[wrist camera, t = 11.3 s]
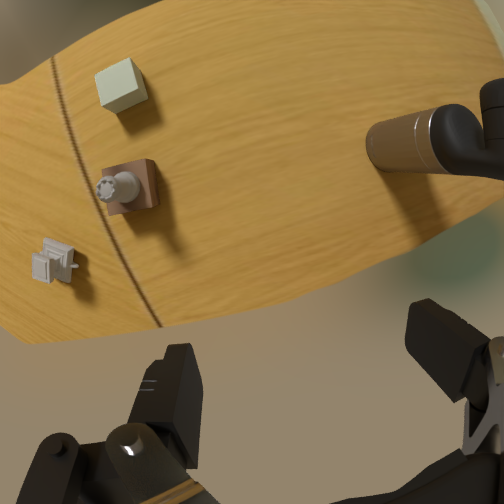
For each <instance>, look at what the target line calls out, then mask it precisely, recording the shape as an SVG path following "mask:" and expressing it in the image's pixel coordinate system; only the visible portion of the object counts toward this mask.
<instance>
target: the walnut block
mask: <svg viewBox="0 0 504 504" xmlns="http://www.w3.org/2000/svg"><path fill="white" fill-rule="evenodd" d="M124 171H125V172H131V173H133V174H135V175H136V176H137V178H138V179H139V182H140V191H139V193H138V196H137V197H136V198H135V199H134V200H133V201H130V202H128V203H121V202H118V201H116V200H114V201H112V202H110V203H107V208H108V214H109V216H111V215H116V214H121V213H126V212H130V211H135V210H140V209H145V208H151V207H154V206H156V205H159V204H160V200H159V194H158V187H157V180H156V173H155V166H154V161H153V160H149V159H141V160H137V161H132V162H128V163H124V164H120V165H116V166H112V167H109V168H105V169H102V176H103V177H105V176H113V177H114V176H115V175H116V174H118V173H121V172H124Z"/></svg>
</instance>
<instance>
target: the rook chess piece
mask: <svg viewBox="0 0 504 504" xmlns="http://www.w3.org/2000/svg"><path fill="white" fill-rule="evenodd" d="M139 191H140V182H139V179H138V178H137V176H136V175H135V174H133V173H131V172H125V171H124V172H121V173H118V174H116V175H115V176H114V177H113V176H105V177H102V178H101V179H100V180H99V182H98V183H97V186H96V195H97V196H98V197H99V199H100V200H101V201H103V202H105V203H110V202H112V201H114V200H116V201H118V202H121V203H128V202H130V201H133V200H134V199H135V198H136V197H137V196H138V193H139Z"/></svg>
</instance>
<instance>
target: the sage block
mask: <svg viewBox="0 0 504 504" xmlns="http://www.w3.org/2000/svg"><path fill="white" fill-rule="evenodd" d="M95 80H96V85H97V89H98V93H99V98H100V102H101V106H102V107H104V108H106V109H107V110H109V111H111V112H113V113H115V114H117V113H119V112H121V111H123V110H125V109H127V108H129V107H132V106H134V105H136V104H138V103H140V102H143V101H145V100H147V99H148V95H147V92H146V88H145V85H144V82H143V78H142V75H141V71H140V69H139V68H138V67H137V66H136V64H135V63H134V62H133V61H132V59H131V58H130V57H129V58H127V59H125V60H123V61H120V62H118V63H116V64H114V65H112V66H110V67H108V68H106V69H105V70H103V71H101V72H99V73H97V74H95Z"/></svg>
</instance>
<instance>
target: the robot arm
mask: <svg viewBox="0 0 504 504" xmlns="http://www.w3.org/2000/svg"><path fill="white" fill-rule="evenodd" d="M480 107H481V114H482V122H483V129H482V127H481V125H480V123H479V121H478V120H477V118H476V117H475V115H474V114H473V113H472V112H471V111H470V110H469V109H467V108H466V107H464V106H462V105H459V104H449V105H444V106H440V107H436V108H431V109H428V110H424V111H420V112H416V113H412V114H408V115H404V116H401V117H397V118H393V119H389V120H386V121H382V122H379V123H377V124H375V125H373V126H372V127H371V128H370V130H369V131H368V134H367V137H366V149H367V153H368V155H369V158H370V159H371V161H372V163H373V164H374V165H375V166H376V167H378V168H379V169H380V170H383V171H386V172H403V173H429V174H448V175H463V176H479V177H487V178H492V179H498V180H502V181H504V78H500V79H496V80H492V81H490V82H488V83H486V84H485V85H483V87H482V88H481V90H480ZM405 346H406V349H407V351H408V352H409V354H410V355H411V356H412V357H413V358H414V359H415V360H416V361H417V362H418V363H419V365H420V366H421V367H422V368H423V369H424V370H425V371H426V372H427V373H428V374H429V375H430V377H431V378H432V379H433V380H434V381H435V382H436V383H437V384H438V386H439V387H440V388H441V389H442V390H443V391H444V392H445V393H446V395H447V396H448V397H449V398H450V399H451V400H452V401H453V403H455V402H457V401H458V400H460V399H462V398H464V397H466V398H467V401H466V403H465V412H464V414H465V415H464V436H463V446H462V450H460V449H457V450H455V451H454V452H452V453H450V454H449V455H447V456H445V457H444V458H442V459H440V460H438V461H436V462H435V463H433V464H431V465H429V466H428V467H427V468H425V469H424V470H423V471H422V472H421V473H419V474H418V475H417V476H416V477H415V478H413V479H412V480H411V481H409V482H408V483H406V484H405V485H404V486H403V487H401V488H400V489H398V490H396V491H394V492H390V493H385V494H379V495H373V496H366V497H358V498H349V499H345V500H342V501H339V502H334V503H331V504H504V337H503V336H501V337H495V338H493V339H492V340H491V339H489V338H488V337H487V336H485V335H484V334H483V333H481V332H480V331H478V330H477V329H476V328H475V327H473V326H472V325H470V324H467V322H466V321H465V320H464V319H461V318H460V317H459V316H458V315H456V314H455V313H453V312H452V311H450V310H447V309H444V308H443V307H441V306H440V305H439V304H437V303H436V302H434V301H433V300H431V299H429V298H428V299H424V300H420V301H417V302H413V303H412V304H411V305H410V307H409V313H408V320H407V327H406V333H405ZM202 401H203V385H202V379H201V376H200V372H199V369H198V365H197V362H196V358H195V355H194V351H193V348H192V345H191V344H190V343H185V344H172V345H168V347H167V349H166V353H165V356H164V359H163V360H155V361H154V362H153V363H152V364H151V365H150V366H149V367H148V368H147V369H146V372H145V374H144V377H143V382H142V383H141V385H140V388H139V391H138V394H137V396H136V399H135V402H134V405H133V407H132V410H131V413H130V416H129V419H128V422H127V424H123V425H121V426H119V427H117V428H116V429H114V430H113V431H112V432H111V433H110V434H109V435H108V437H107V439H106V441H104V442H98V443H91V444H82V445H80V444H79V443H78V442H77V441H76V440H75V438H74V437H73V436H71V435H70V434H67V433H55V434H52V435H50V436H48V437H46V438H45V439H44V440H43V441H42V442H41V444H40V445H39V448H38V450H37V452H36V454H35V456H34V459H33V461H32V463H31V466H30V468H29V470H28V473H27V475H26V478H25V480H24V483H23V485H22V488H21V491H20V494H19V496H18V499H17V502H16V504H220V503H219V502H218V501H217V500H216V499H215V498H214V497H213V496H212V495H211V494H210V493H209V492H208V491H207V490H206V489H205V488H204V487H203V486H202V485H201V484H200V483H198V482H195V481H194V480H193V479H192V478H191V477H190V475H189V474H188V473H187V472H186V469H197V467H198V452H199V438H200V425H201V413H202V412H201V411H202Z"/></svg>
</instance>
